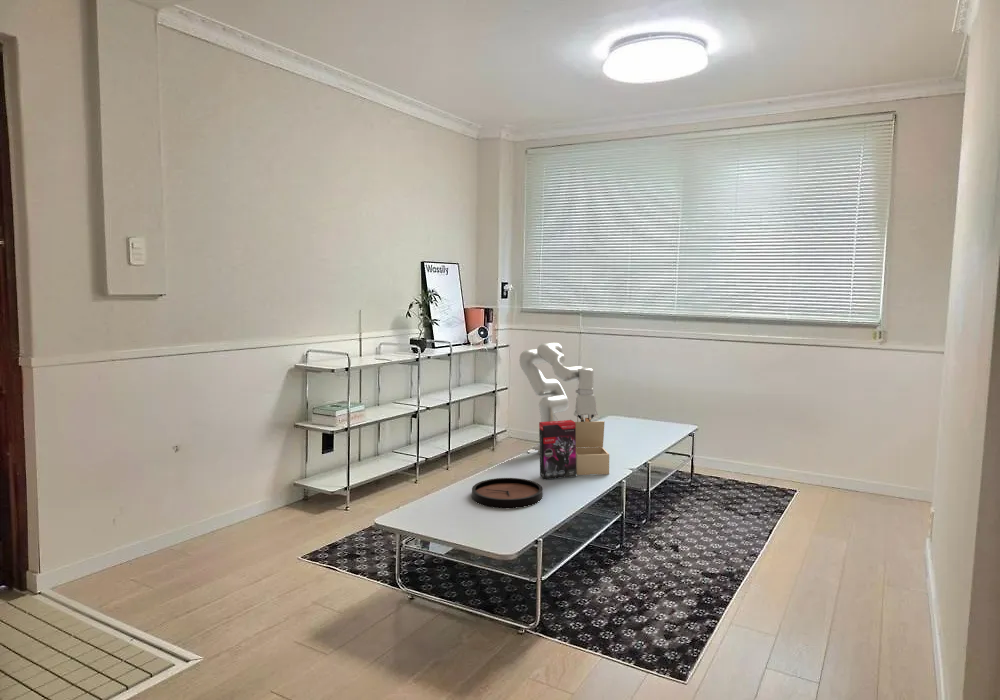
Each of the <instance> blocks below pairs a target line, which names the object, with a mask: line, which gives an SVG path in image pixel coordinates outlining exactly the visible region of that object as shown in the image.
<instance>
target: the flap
mask: <svg viewBox="0 0 1000 700" xmlns="http://www.w3.org/2000/svg"><path fill="white" fill-rule="evenodd" d="M574 422H575V423H576V448H586V447H603V448H604V439H605V438H604V437H605V436H604V435H605V420H600V421H599V420H598V421H597V420H596V421H595V420H594V421H593V420H592V421H591V422H589V420H588V417H584V422H581V421H574Z"/></svg>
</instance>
